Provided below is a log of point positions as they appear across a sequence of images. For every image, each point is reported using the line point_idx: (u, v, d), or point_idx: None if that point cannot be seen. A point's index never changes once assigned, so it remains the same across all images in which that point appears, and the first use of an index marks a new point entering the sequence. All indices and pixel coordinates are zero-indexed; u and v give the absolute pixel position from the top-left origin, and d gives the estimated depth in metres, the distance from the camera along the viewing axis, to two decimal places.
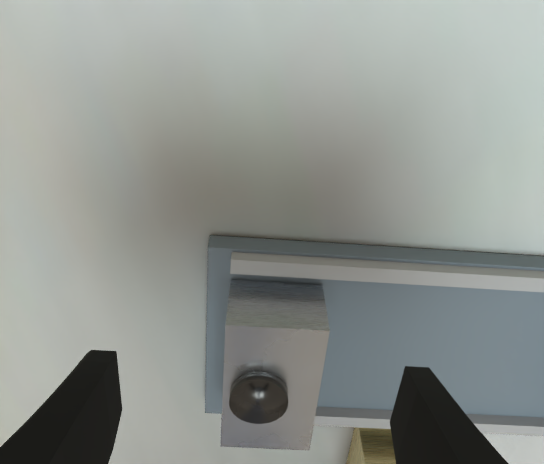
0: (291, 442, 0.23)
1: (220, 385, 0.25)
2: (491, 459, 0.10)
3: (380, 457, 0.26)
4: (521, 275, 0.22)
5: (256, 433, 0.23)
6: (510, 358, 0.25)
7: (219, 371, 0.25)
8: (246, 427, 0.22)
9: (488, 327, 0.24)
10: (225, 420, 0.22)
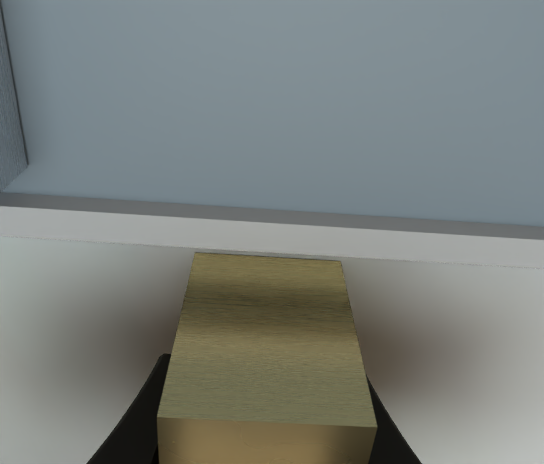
0: None
1: None
2: (401, 455, 0.10)
3: (219, 322, 0.10)
4: None
5: None
6: None
7: None
8: None
9: None
10: None
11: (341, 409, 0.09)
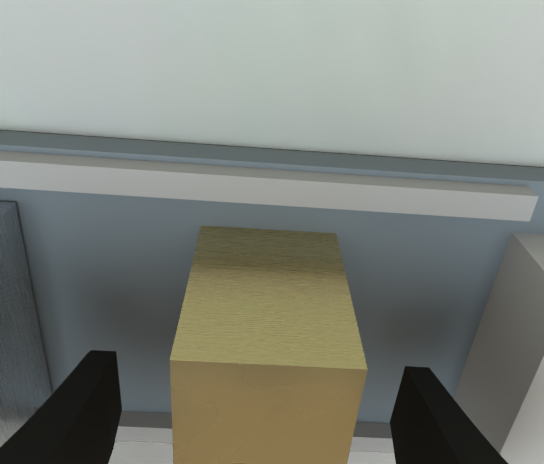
0: None
1: None
2: (491, 459, 0.10)
3: (225, 283, 0.11)
4: (345, 181, 0.12)
5: None
6: (362, 331, 0.15)
7: None
8: None
9: None
10: None
11: (335, 355, 0.10)
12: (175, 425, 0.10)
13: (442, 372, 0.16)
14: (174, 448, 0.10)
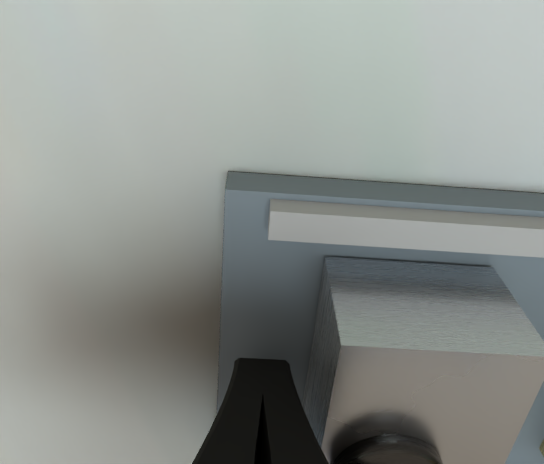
0: None
1: None
2: (306, 451, 0.10)
3: None
4: None
5: None
6: None
7: None
8: None
9: None
10: None
11: None
12: None
13: None
14: None
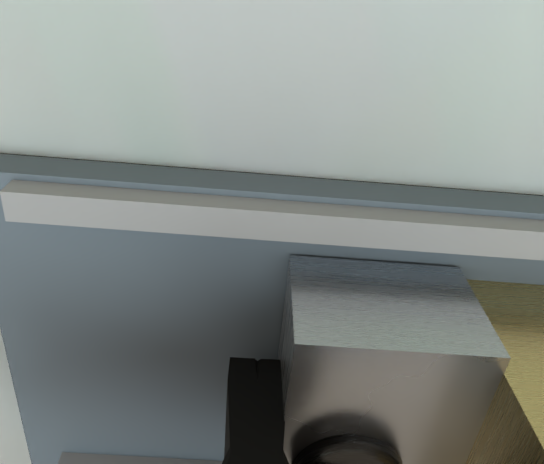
0: None
1: (48, 426, 0.15)
2: (265, 449, 0.10)
3: (533, 355, 0.10)
4: None
5: None
6: None
7: (41, 403, 0.14)
8: None
9: None
10: None
11: None
12: None
13: None
14: None
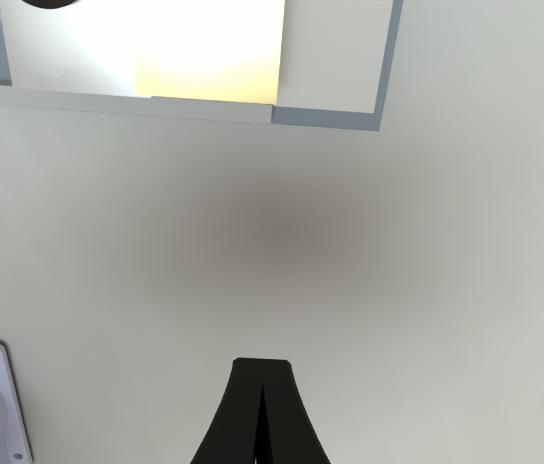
0: (121, 79, 0.15)
1: None
2: (307, 451, 0.10)
3: None
4: None
5: (63, 58, 0.15)
6: None
7: None
8: (43, 42, 0.14)
9: None
10: (8, 26, 0.14)
11: None
12: None
13: None
14: None
